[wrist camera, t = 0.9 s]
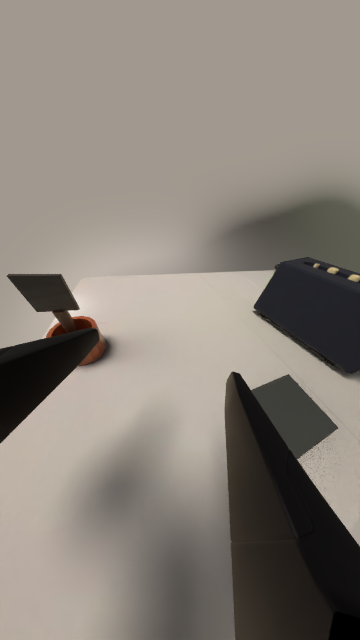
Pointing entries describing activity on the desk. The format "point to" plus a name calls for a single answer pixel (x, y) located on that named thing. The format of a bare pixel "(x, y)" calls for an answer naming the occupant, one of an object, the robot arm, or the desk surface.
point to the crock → (81, 324)
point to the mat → (294, 414)
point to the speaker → (317, 308)
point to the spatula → (48, 296)
